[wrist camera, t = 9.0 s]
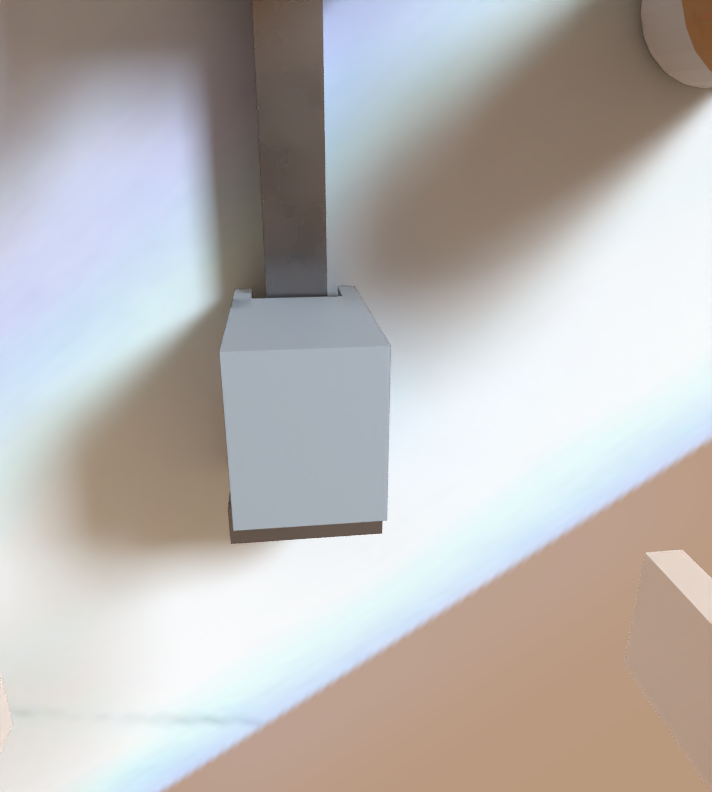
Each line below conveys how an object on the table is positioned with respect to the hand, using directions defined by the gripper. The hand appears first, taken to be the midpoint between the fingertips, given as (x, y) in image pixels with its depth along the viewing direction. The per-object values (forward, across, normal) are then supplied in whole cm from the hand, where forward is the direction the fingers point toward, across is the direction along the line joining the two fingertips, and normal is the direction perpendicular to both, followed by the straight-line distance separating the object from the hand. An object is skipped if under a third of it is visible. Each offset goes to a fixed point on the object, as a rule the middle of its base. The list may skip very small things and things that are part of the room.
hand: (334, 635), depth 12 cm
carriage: (+18, 0, 0) cm, 18 cm away
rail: (+18, 0, +6) cm, 19 cm away
